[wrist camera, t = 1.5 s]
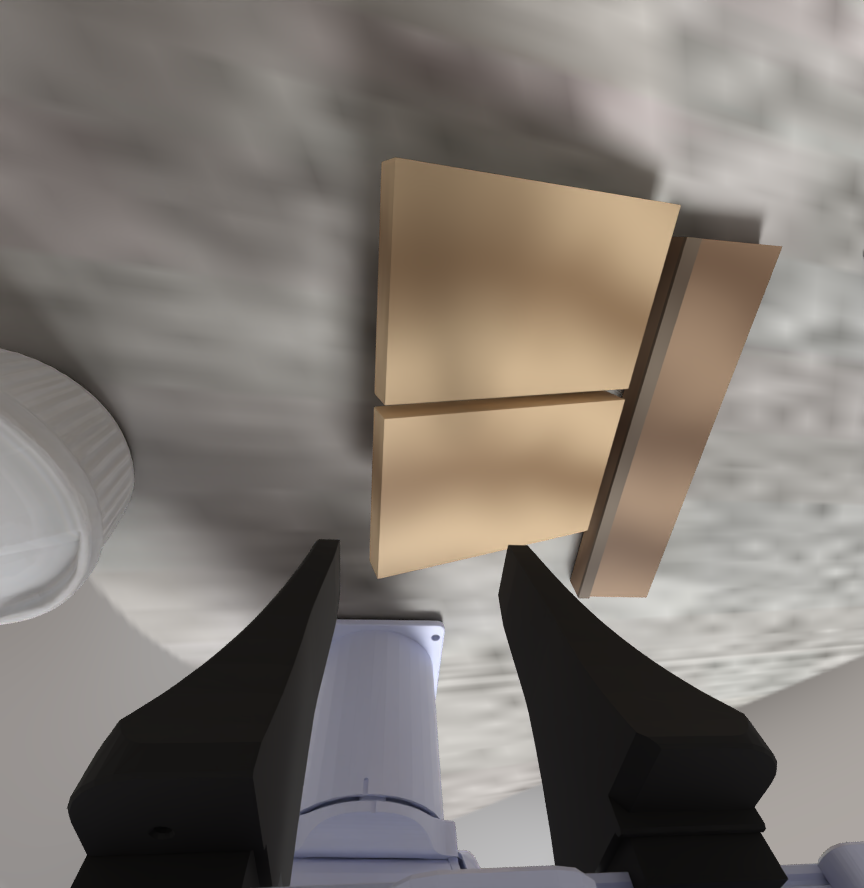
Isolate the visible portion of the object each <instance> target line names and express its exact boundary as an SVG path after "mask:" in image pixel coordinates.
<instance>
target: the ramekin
mask: <svg viewBox="0 0 864 888" xmlns="http://www.w3.org/2000/svg"><path fill="white" fill-rule="evenodd" d="M133 488H134V469H133V461H132V458H131V455H130V450H129V448H128V445H127V442H126V440H125V437H124V435H123V434H122V432H121V430H120V428H119V426H118V424H117V423H116V421H115V420H114V419H113V417H112V416H111V414H110V413H109V412H108V411H107V410H106V408H105V407H104V406H103V405H102V404H101V403H100V402H99V401H98V400H97V399H96V398H95V397H94V396H93V395H92V394H91V393H90V392H88V391H87V390H86V389H85V388H83V387H82V386H81V385H80V384H78V383H77V382H75V381H74V380H72V379H71V378H69V377H68V376H67V375H65V374H63V373H61V372H59V371H58V370H56V369H55V368H53V367H51V366H49V365H46V364H44V363H42V362H40V361H38V360H36V359H34V358H30V357H27V356H25V355H23V354H20V353H17V352H11V351H8V350H5V349H1V348H0V624H8V623H15V622H19V621H24V620H28V619H31V618H34V617H37V616H39V615H42V614H45V613H47V612H49V611H51V610H53V609H55V608H57V607H58V606H59V605H61V604H62V603H64V602H65V601H66V600H67V599H69V598H70V597H71V596H72V595H73V594H74V593H75V592H76V591H77V590H78V589H79V588H80V587H81V585H82V584H83V583H84V582H85V581H86V579H87V578H88V577H89V575H90V574H91V573H92V571H93V569H94V568H95V566H96V564H97V562H98V559H99V557H100V554H101V550H102V547H103V546H104V544H105V543H106V541H107V540H108V538H109V537H110V535H111V534H112V532H113V530H114V529H115V527H116V525H117V524H118V522H119V520H120V519H121V517H122V515H123V514H124V512H125V510H126V508H127V505H128V504H129V502H130V500H131V497H132V491H133Z"/></svg>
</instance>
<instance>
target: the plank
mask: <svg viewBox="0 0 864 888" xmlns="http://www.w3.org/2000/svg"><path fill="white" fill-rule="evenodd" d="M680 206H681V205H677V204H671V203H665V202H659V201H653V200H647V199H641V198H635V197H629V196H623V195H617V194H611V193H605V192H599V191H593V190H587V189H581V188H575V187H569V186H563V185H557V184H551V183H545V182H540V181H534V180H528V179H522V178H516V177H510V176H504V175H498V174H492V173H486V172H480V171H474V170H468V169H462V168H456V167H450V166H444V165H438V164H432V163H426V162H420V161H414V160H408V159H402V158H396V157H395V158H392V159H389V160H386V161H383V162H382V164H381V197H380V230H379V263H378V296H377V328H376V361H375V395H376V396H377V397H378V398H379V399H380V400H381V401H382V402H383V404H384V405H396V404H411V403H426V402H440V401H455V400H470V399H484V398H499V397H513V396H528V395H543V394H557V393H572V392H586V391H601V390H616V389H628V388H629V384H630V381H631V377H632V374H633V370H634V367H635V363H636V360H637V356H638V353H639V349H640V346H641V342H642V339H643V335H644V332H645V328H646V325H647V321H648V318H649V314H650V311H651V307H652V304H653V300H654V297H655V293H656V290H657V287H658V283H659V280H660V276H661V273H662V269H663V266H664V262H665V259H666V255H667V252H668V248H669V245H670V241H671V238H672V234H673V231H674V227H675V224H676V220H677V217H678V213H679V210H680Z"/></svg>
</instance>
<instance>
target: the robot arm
mask: <svg viewBox="0 0 864 888" xmlns="http://www.w3.org/2000/svg"><path fill="white" fill-rule="evenodd" d="M339 596H340V540H325V539H319V540H318V541H316V542H315V544H314V545H313V547H312V549H311V550H310V552H309V553H308V555H307V556H306V558H305V559H304V561H303V562H302V563H301V565H300V566H299V567H298V569H297V570H296V571H295V573H294V574H293V575H292V577H291V578H290V579H289V580H288V582H287V583H286V584H285V585H284V587H283V588H282V589H281V590H280V591H279V593H278V594H277V595H276V596H275V597H274V598H273V599H272V601H271V602H270V603H269V604H268V605H267V606H266V607H265V608H264V609H263V611H262V612H261V613H260V614H259V615H258V616H257V617H256V618H255V619H254V620H253V621H252V622H251V623H250V624H249V625H248V626H247V627H246V628H245V629H244V630H243V631H241V632H240V633H239V634H238V635H237V636H236V637H235V638H234V639H233V640H232V641H230V642H229V643H228V644H227V645H226V646H225V647H224V648H222V649H221V650H220V651H219V652H218V653H217V654H215V655H214V656H213V657H212V658H210V659H209V660H208V661H207V662H205V663H204V664H203V665H202V666H200V667H199V668H198V669H196V670H195V671H193V672H192V673H191V674H190V675H188V676H187V677H185V678H184V679H183V680H181V681H180V682H179V683H177V684H176V685H175V686H173V687H172V688H170V689H169V690H167V691H166V692H164V693H163V694H161V695H160V696H158V697H156V698H155V699H153V700H152V701H150V702H149V703H147V704H145V705H144V706H142V707H141V708H139V709H137V710H136V711H134V712H133V713H131V714H129V715H128V716H126V717H124V718H123V719H121V720H120V721H119V722H118V723H117V725H116V726H115V728H114V729H113V730H112V732H111V733H110V735H109V736H108V737H107V739H106V740H105V741H104V743H103V744H102V746H101V747H100V749H99V750H98V751H97V753H96V755H95V756H94V758H93V760H92V761H91V763H90V765H89V766H88V768H87V770H86V771H85V773H84V775H83V777H82V778H81V780H80V782H79V783H78V785H77V787H76V789H75V790H74V792H73V794H72V795H71V797H70V800H69V803H68V807H67V808H68V813H69V817H70V820H71V823H72V825H73V827H74V829H75V831H76V833H77V835H78V837H79V839H80V841H81V843H82V845H83V847H84V850H85V851H86V854H87V856H86V858H85V861H84V862H83V864H82V866H81V868H80V870H79V872H78V874H77V876H76V878H75V880H74V882H73V884H72V886H71V888H864V842H846V843H839V844H836V845H834V846H832V847H830V848H829V849H827V850H826V851H825V852H824V853H823V854H822V855H821V857H820V858H819V860H818V863H817V864H794V865H780V864H779V862H778V861H777V859H776V857H775V856H774V854H773V852H772V851H771V849H770V847H769V846H768V844H767V842H766V841H765V839H764V837H763V836H762V834H761V833H760V832H764V831H765V829H766V828H765V823H764V822H763V820H762V818H761V817H760V815H759V814H758V812H757V810H756V809H755V805H756V804H757V803H758V801H759V800H760V798H761V797H762V796H763V794H764V793H765V792H766V790H767V789H768V787H769V786H770V784H771V783H772V781H773V779H774V777H775V775H776V770H777V760H776V759H775V756H774V754H773V753H772V751H771V750H770V749H769V747H768V746H767V745H766V743H765V742H764V740H763V739H762V738H761V736H760V735H759V733H758V732H757V731H756V729H755V728H754V726H753V725H752V724H751V722H750V721H749V720H748V718H747V717H746V716H745V715H744V714H743V713H741V712H739V711H737V710H736V709H734V708H732V707H730V706H728V705H726V704H724V703H722V702H721V701H719V700H717V699H715V698H713V697H711V696H709V695H707V694H706V693H704V692H702V691H700V690H698V689H697V688H695V687H693V686H692V685H690V684H688V683H687V682H685V681H683V680H682V679H680V678H679V677H677V676H675V675H674V674H672V673H671V672H669V671H667V670H666V669H664V668H663V667H661V666H660V665H658V664H657V663H655V662H654V661H652V660H651V659H650V658H648V657H647V656H645V655H644V654H642V653H641V652H640V651H638V650H637V649H635V648H634V647H633V646H631V645H630V644H629V643H627V642H626V641H625V640H624V639H622V638H621V637H620V636H619V635H617V634H616V633H615V632H614V631H612V630H611V629H610V628H609V627H607V626H606V625H605V624H604V623H603V622H602V621H600V620H599V619H598V618H597V617H596V616H595V615H594V614H593V613H592V612H590V611H589V610H588V609H587V608H586V607H585V606H584V605H583V604H582V603H581V602H580V601H579V600H578V599H577V598H576V597H575V596H574V595H573V594H572V593H571V592H570V591H569V590H568V589H567V588H566V587H565V586H564V585H563V584H562V583H561V582H560V581H559V580H558V579H557V578H556V577H555V575H554V574H553V573H552V572H551V571H550V570H549V569H548V568H547V567H546V566H545V564H544V563H543V562H542V561H541V560H540V559H539V558H538V557H537V555H536V554H535V553H534V552H533V551H532V550H531V549H530V548H529V547H528V546H527V545H508V548H507V553H506V558H505V563H504V568H503V573H502V578H501V583H500V589H499V594H498V596H499V603H500V609H501V615H502V620H503V626H504V630H505V633H506V637H507V640H508V643H509V647H510V650H511V653H512V657H513V660H514V663H515V667H516V670H517V673H518V677H519V680H520V683H521V686H522V690H523V693H524V696H525V700H526V704H527V708H528V712H529V717H530V722H531V727H532V732H533V737H534V742H535V747H536V752H537V757H538V763H539V768H540V774H541V779H542V785H543V791H544V797H545V803H546V809H547V815H548V821H549V827H550V833H551V840H552V847H553V854H554V861H555V866H554V865H552V866H529V867H528V866H527V867H503V868H480V866H479V864H478V862H477V860H476V858H475V857H474V855H473V854H472V853H471V852H470V851H466V850H458V848H457V837H456V827H455V822H454V821H449V820H444V814H443V800H442V786H441V773H440V759H439V745H438V731H437V718H436V704H435V700H436V692H437V685H438V677H439V670H440V663H441V655H442V648H443V640H444V633H445V629H444V624H443V623H442V622H440V621H430V620H347V619H337V612H338V604H339Z"/></svg>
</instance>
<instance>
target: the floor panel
mask: <svg viewBox="0 0 864 888" xmlns="http://www.w3.org/2000/svg"><path fill="white" fill-rule="evenodd" d="M781 249H782V247H781V246H771V245H761V244H751V243H741V242H731V241H721V240H711V239H702V238H693V237H672V238H671V241H670V245H669V248H668V252H667V255H666V259H665V262H664V266H663V269H662V273H661V276H660V280H659V283H658V287H657V290H656V293H655V297H654V300H653V304H652V307H651V311H650V314H649V318H648V321H647V325H646V328H645V332H644V335H643V339H642V342H641V346H640V349H639V353H638V356H637V360H636V363H635V367H634V370H633V374H632V377H631V381H630V384H629V388H628V389H624V392H623V396H622V398H623V399H625V401H624V405H623V408H622V412H621V415H620V419H619V422H618V426H617V429H616V433H615V436H614V440H613V443H612V447H611V450H610V454H609V457H608V461H607V464H606V468H605V471H604V475H603V478H602V482H601V485H600V488H599V492H598V495H597V499H596V502H595V506H594V509H593V513H592V516H591V520H590V523H589V527H588V530H587V531H584V533H583V537H582V541H581V544H580V548H579V551H578V555H577V558H576V562H575V565H574V569H573V572H572V576H571V579H570V582H571V584H572V586H573V588H574V590H575V592H576V594H577V596H578V598H589V597H590V596H596V597H647V595H648V592H649V589H650V587H651V584H652V582H653V579H654V576H655V574H656V571H657V569H658V566H659V564H660V561H661V558H662V556H663V553H664V551H665V548H666V545H667V543H668V540H669V538H670V535H671V533H672V530H673V527H674V525H675V522H676V520H677V517H678V515H679V512H680V509H681V507H682V504H683V502H684V499H685V496H686V494H687V491H688V489H689V486H690V484H691V481H692V478H693V476H694V473H695V471H696V468H697V465H698V463H699V460H700V458H701V455H702V453H703V450H704V447H705V445H706V442H707V440H708V437H709V435H710V432H711V429H712V427H713V424H714V422H715V419H716V416H717V414H718V411H719V409H720V406H721V404H722V401H723V398H724V396H725V393H726V391H727V388H728V385H729V383H730V380H731V378H732V375H733V373H734V370H735V367H736V365H737V362H738V360H739V357H740V355H741V352H742V349H743V347H744V344H745V342H746V339H747V336H748V334H749V331H750V329H751V326H752V324H753V321H754V318H755V316H756V313H757V311H758V308H759V306H760V303H761V300H762V298H763V295H764V293H765V290H766V287H767V285H768V282H769V280H770V277H771V275H772V272H773V269H774V267H775V264H776V262H777V259H778V256H779V254H780V251H781Z"/></svg>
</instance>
